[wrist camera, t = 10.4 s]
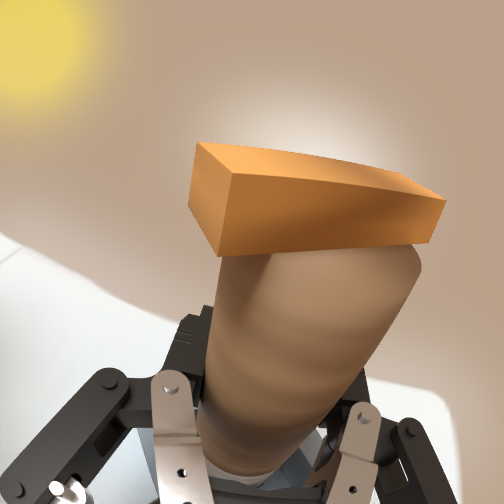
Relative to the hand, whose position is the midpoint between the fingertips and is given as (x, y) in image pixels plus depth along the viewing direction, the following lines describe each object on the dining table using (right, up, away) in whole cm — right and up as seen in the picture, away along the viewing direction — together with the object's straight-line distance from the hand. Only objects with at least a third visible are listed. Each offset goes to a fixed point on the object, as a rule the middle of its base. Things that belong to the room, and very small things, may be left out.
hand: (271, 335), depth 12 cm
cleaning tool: (-2, -9, +3) cm, 10 cm away
